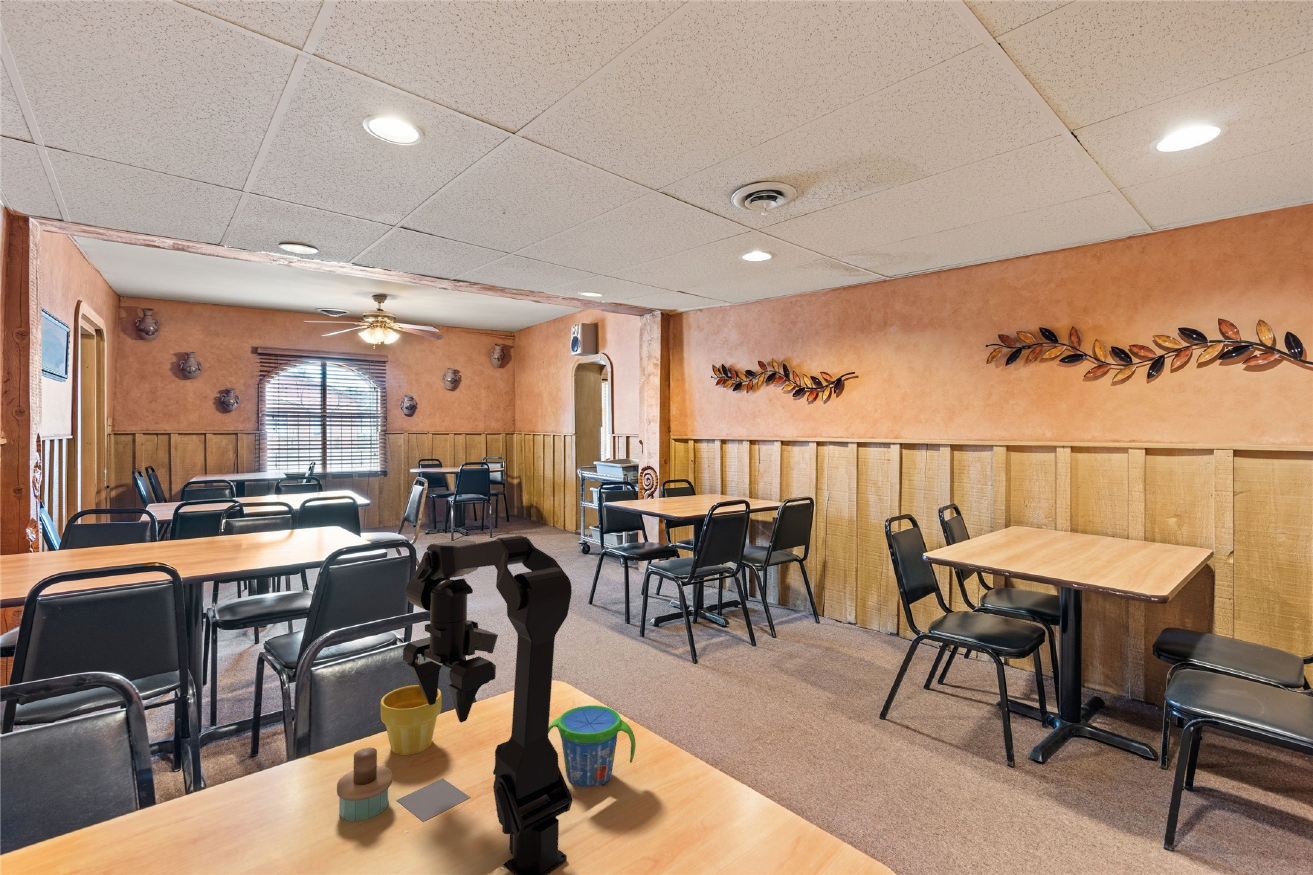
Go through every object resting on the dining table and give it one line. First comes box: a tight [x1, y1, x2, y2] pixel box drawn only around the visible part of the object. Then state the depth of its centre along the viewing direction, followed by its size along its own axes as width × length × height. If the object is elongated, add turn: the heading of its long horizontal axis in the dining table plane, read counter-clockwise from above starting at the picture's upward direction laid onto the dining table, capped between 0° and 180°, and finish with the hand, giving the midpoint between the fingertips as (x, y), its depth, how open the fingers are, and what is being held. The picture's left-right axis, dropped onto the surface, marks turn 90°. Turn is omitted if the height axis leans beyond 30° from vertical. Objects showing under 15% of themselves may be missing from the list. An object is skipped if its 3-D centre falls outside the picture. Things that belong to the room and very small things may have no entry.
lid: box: [336, 747, 393, 801], centre depth 93 cm, size 8×8×5 cm
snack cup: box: [548, 705, 636, 788], centre depth 103 cm, size 16×10×10 cm
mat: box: [395, 778, 471, 823], centre depth 95 cm, size 8×8×1 cm
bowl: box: [338, 788, 389, 822], centre depth 93 cm, size 7×7×4 cm
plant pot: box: [380, 684, 443, 756], centre depth 111 cm, size 10×10×10 cm
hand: (447, 712), depth 100 cm, fingers open, 9 cm apart
